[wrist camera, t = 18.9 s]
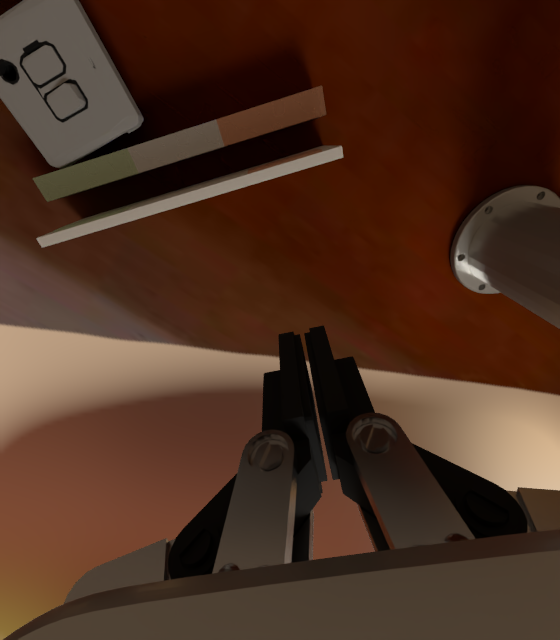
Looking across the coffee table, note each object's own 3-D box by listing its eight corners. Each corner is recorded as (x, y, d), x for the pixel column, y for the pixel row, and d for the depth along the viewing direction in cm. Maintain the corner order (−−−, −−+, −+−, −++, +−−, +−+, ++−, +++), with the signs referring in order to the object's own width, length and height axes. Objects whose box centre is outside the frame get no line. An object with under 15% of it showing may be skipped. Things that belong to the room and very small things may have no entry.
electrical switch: (-44, 43, 22) (39, -37, 19) (15, 54, 26) (91, -10, 24) (52, 173, 27) (131, 124, 24) (89, 165, 31) (160, 123, 28)
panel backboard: (322, 143, 30) (341, 143, 23) (324, 154, 30) (343, 157, 23) (83, 216, 32) (34, 236, 25) (88, 225, 32) (42, 247, 26)
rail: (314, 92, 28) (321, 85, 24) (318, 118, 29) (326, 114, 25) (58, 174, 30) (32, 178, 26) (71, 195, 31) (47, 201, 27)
